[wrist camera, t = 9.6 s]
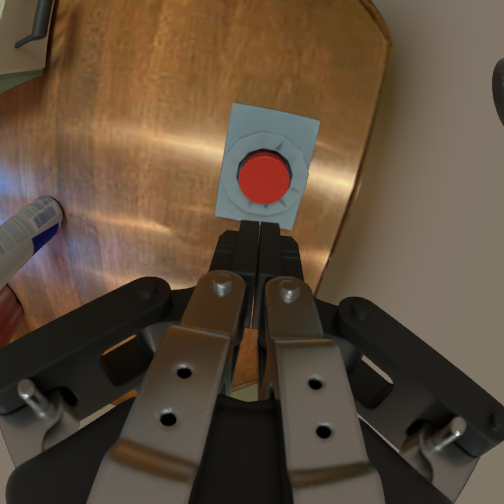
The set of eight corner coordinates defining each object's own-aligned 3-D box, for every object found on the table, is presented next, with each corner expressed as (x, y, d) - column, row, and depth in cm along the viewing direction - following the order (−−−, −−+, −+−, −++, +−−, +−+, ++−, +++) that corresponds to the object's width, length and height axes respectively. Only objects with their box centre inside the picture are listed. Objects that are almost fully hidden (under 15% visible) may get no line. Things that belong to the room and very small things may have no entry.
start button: (245, 147, 19) (243, 151, 18) (292, 157, 20) (294, 162, 18) (237, 191, 21) (234, 199, 20) (282, 200, 22) (283, 208, 20)
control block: (235, 102, 21) (229, 103, 17) (316, 119, 21) (325, 123, 18) (218, 206, 26) (210, 225, 23) (290, 220, 26) (293, 240, 23)
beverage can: (35, 212, 27) (-41, 279, 14) (45, 185, 25) (-43, 251, 12) (59, 237, 29) (-12, 314, 16) (71, 211, 27) (-12, 290, 14)
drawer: (89, -31, 11) (44, -48, 4) (73, 57, 17) (18, 58, 10) (-6, 23, 11) (-46, 27, 4) (-14, 96, 17) (-56, 109, 10)
